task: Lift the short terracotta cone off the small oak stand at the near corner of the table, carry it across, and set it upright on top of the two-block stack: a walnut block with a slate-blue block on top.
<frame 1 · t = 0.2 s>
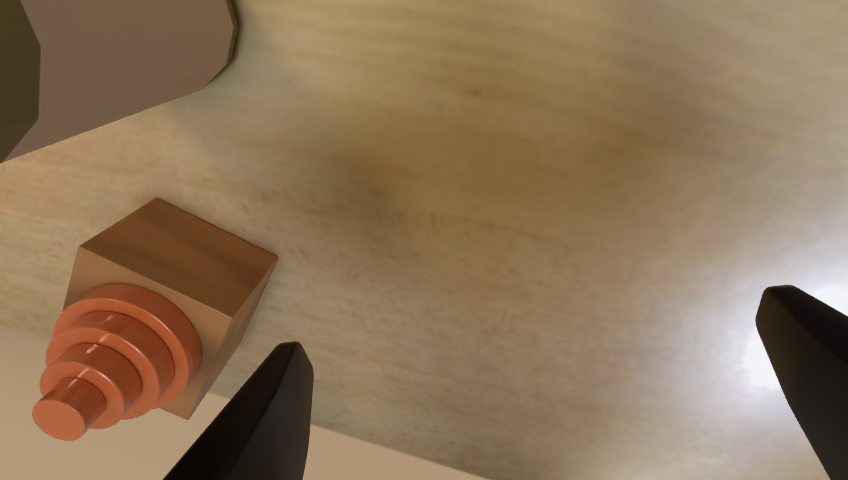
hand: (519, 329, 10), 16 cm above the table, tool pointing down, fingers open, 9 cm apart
stand: (199, 277, 29), on the table
cone: (137, 340, 23), point 6 cm above the table, touching stand
bottle: (178, 18, 23), on the table
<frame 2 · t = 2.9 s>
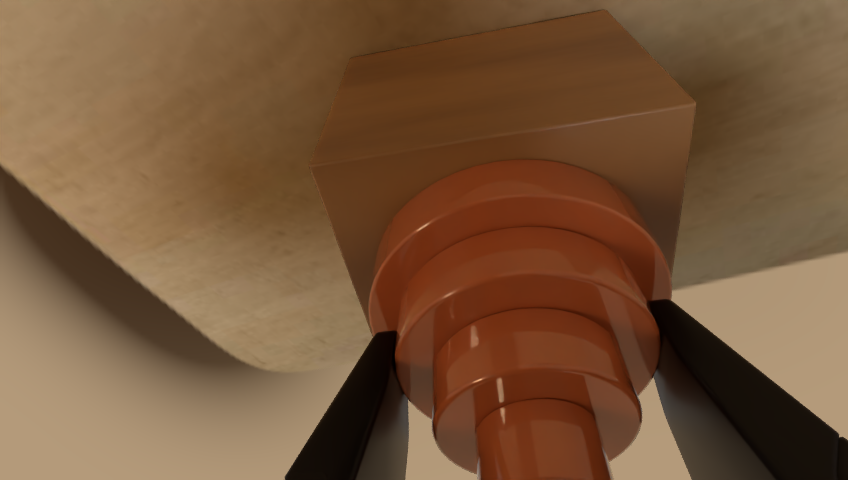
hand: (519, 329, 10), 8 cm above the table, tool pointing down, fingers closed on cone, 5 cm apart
stand: (488, 147, 16), on the table
cone: (509, 277, 11), point 6 cm above the table, touching gripper, stand
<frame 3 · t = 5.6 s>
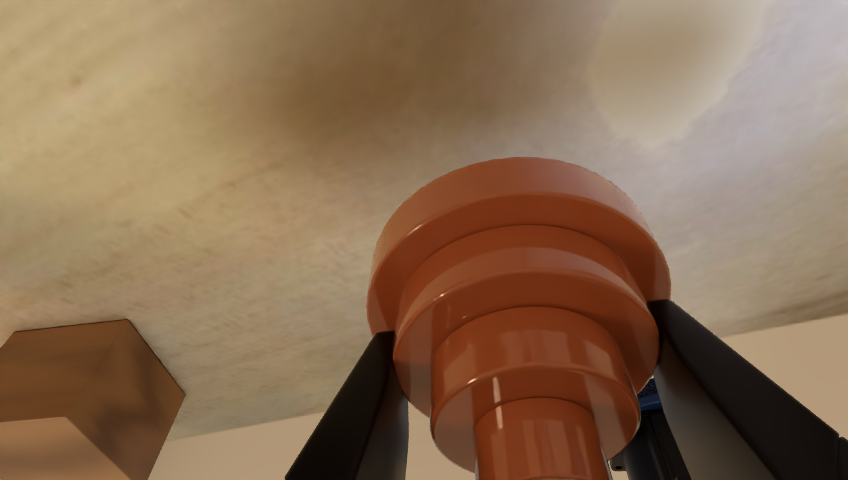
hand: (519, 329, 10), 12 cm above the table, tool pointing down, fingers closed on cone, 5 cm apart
stand: (104, 365, 30), on the table
cone: (508, 276, 11), point 11 cm above the table, touching gripper
when the fingers open (8 cm above the table, at t = 8.4 s): cone stays where it is, resting on top block.
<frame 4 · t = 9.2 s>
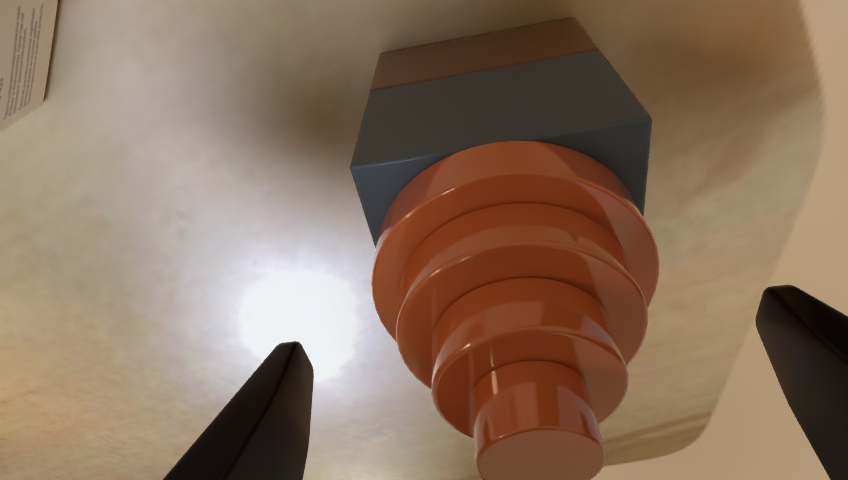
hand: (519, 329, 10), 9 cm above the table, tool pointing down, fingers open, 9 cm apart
base block: (486, 124, 17), on the table, touching top block
cone: (506, 256, 12), point 7 cm above the table, touching top block
top block: (493, 169, 15), point 3 cm above the table, touching base block, cone
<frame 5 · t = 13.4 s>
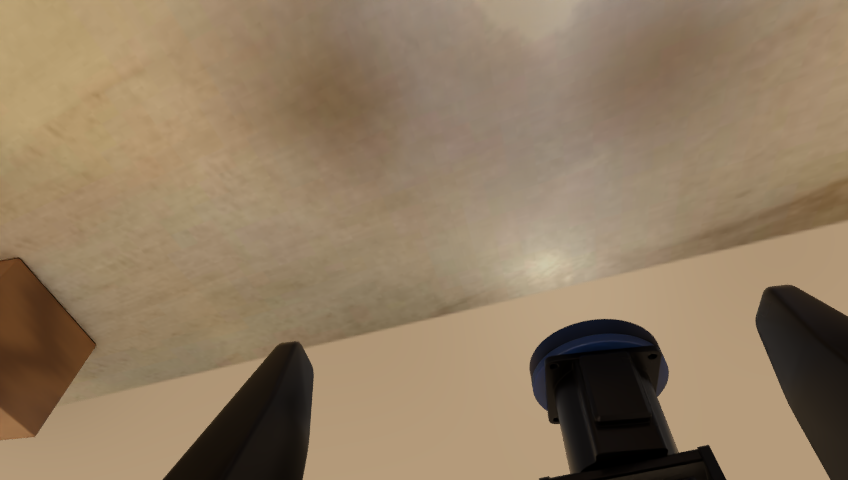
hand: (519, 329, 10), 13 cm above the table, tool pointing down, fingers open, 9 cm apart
stand: (6, 312, 29), on the table
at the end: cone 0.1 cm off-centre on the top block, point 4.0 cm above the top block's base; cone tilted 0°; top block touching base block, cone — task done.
